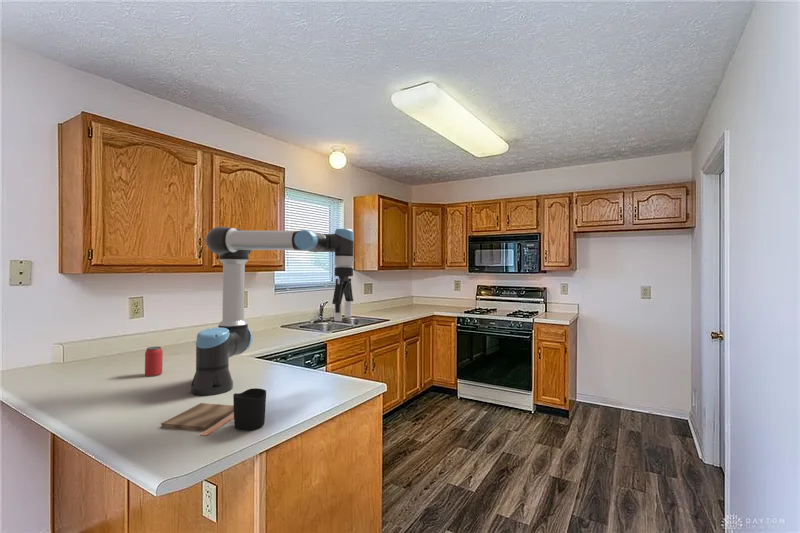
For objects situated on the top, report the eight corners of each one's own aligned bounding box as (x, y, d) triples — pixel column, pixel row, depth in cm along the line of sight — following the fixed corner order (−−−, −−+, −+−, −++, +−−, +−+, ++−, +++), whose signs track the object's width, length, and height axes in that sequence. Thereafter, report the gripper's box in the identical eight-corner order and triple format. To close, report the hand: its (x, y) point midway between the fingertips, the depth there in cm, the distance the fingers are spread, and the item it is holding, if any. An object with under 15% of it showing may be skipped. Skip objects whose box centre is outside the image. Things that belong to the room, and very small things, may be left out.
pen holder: (265, 430, 116) (265, 396, 117) (230, 433, 114) (231, 399, 114) (266, 418, 125) (266, 387, 126) (234, 421, 123) (235, 389, 123)
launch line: (200, 435, 112) (200, 434, 112) (245, 406, 136) (245, 405, 136) (206, 436, 112) (206, 434, 112) (251, 406, 136) (251, 406, 136)
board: (161, 427, 118) (161, 423, 118) (200, 406, 135) (200, 403, 135) (203, 430, 115) (204, 426, 115) (238, 409, 133) (238, 405, 133)
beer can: (141, 375, 172) (141, 348, 172) (155, 372, 178) (156, 345, 178) (151, 377, 170) (152, 349, 170) (165, 373, 176) (166, 347, 176)
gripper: (344, 266, 147) (343, 323, 147) (360, 267, 172) (359, 315, 172) (324, 266, 148) (323, 322, 148) (343, 266, 173) (343, 314, 173)
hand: (343, 318), depth 160 cm, fingers open, 13 cm apart
